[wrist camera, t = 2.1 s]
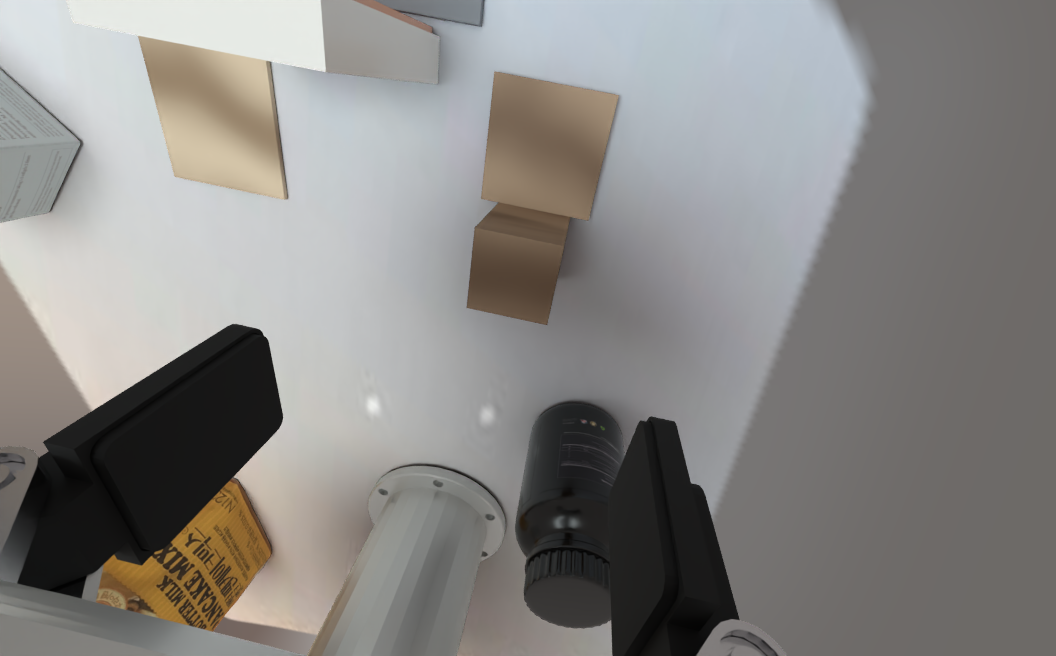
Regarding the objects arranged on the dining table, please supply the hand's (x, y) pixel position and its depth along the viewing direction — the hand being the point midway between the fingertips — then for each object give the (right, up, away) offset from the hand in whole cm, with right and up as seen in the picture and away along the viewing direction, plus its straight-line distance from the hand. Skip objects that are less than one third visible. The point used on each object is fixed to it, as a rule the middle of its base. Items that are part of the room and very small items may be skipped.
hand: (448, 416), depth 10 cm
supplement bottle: (+6, -6, +21) cm, 22 cm away
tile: (-6, +16, +10) cm, 20 cm away
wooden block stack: (+3, +10, +12) cm, 16 cm away
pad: (-15, +15, +12) cm, 25 cm away
